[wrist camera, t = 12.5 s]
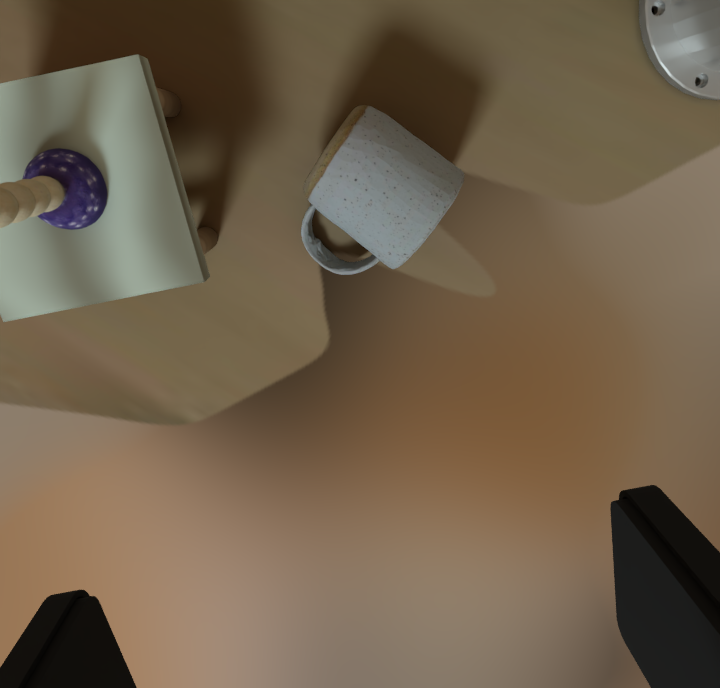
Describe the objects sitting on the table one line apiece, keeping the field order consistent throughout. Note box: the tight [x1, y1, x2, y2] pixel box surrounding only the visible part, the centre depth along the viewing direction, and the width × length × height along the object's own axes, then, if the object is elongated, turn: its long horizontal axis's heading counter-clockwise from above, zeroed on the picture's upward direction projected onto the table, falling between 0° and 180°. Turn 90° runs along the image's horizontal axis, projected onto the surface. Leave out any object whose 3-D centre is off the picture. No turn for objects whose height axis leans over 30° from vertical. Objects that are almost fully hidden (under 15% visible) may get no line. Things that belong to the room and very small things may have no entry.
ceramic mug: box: [301, 105, 464, 275], centre depth 37 cm, size 11×8×8 cm
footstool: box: [0, 54, 218, 322], centre depth 35 cm, size 12×12×9 cm
